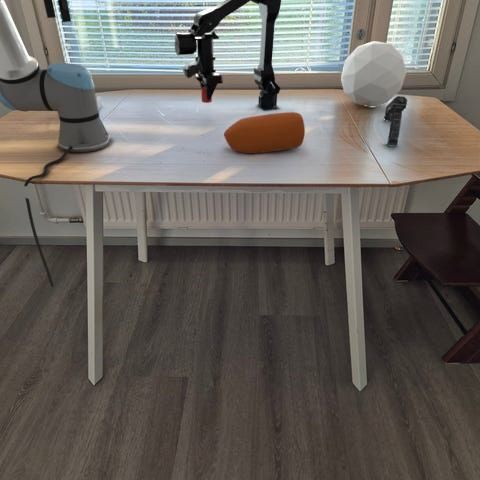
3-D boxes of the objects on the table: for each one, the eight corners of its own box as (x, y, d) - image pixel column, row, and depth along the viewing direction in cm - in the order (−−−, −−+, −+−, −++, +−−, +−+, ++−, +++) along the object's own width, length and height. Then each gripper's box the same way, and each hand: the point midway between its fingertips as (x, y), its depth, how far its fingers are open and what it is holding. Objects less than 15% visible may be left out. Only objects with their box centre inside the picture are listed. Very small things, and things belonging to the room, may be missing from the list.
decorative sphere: (326, 73, 174) (348, 26, 151) (380, 71, 178) (409, 25, 155) (338, 120, 167) (363, 79, 144) (393, 117, 171) (427, 77, 148)
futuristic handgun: (389, 146, 153) (397, 104, 149) (399, 145, 125) (409, 94, 122) (379, 144, 154) (386, 103, 150) (386, 144, 126) (395, 93, 122)
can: (213, 101, 152) (213, 87, 150) (206, 103, 150) (206, 89, 147) (206, 99, 155) (206, 86, 152) (199, 101, 152) (198, 87, 149)
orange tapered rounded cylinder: (228, 162, 123) (308, 151, 124) (223, 128, 117) (309, 117, 118) (224, 147, 133) (299, 137, 134) (220, 115, 127) (299, 104, 128)
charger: (106, 102, 166) (96, 114, 153) (83, 102, 165) (72, 114, 153) (104, 90, 163) (94, 101, 151) (80, 90, 163) (69, 101, 150)
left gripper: (70, -58, 122) (84, 22, 134) (40, -57, 137) (56, 15, 149) (44, -59, 117) (62, 24, 130) (17, -57, 133) (35, 16, 145)
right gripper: (175, 50, 147) (179, 94, 156) (191, 60, 133) (194, 108, 142) (204, 48, 151) (206, 91, 160) (223, 57, 137) (223, 104, 146)
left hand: (59, 19), depth 139 cm, fingers open, 13 cm apart
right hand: (207, 98), depth 152 cm, fingers closed on can, 4 cm apart
